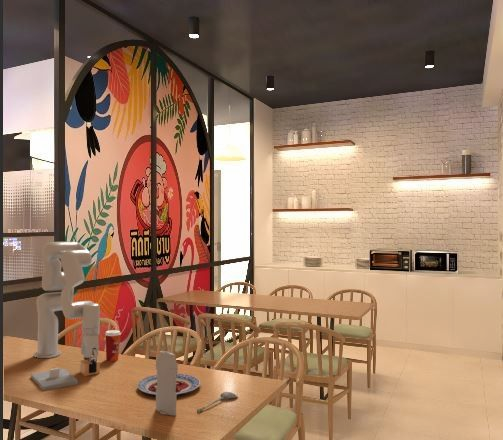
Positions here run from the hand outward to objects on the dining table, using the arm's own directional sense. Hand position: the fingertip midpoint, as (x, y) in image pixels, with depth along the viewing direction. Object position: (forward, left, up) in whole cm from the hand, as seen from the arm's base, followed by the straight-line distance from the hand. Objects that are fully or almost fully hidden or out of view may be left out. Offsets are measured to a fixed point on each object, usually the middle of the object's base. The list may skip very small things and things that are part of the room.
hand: (89, 370), depth 212 cm
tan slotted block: (0, 0, -1) cm, 1 cm away
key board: (+2, -16, -1) cm, 16 cm away
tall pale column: (+60, +7, -1) cm, 60 cm away
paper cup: (-14, +16, -1) cm, 21 cm away
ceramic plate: (+38, +20, -2) cm, 43 cm away
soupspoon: (+63, +27, -2) cm, 69 cm away
